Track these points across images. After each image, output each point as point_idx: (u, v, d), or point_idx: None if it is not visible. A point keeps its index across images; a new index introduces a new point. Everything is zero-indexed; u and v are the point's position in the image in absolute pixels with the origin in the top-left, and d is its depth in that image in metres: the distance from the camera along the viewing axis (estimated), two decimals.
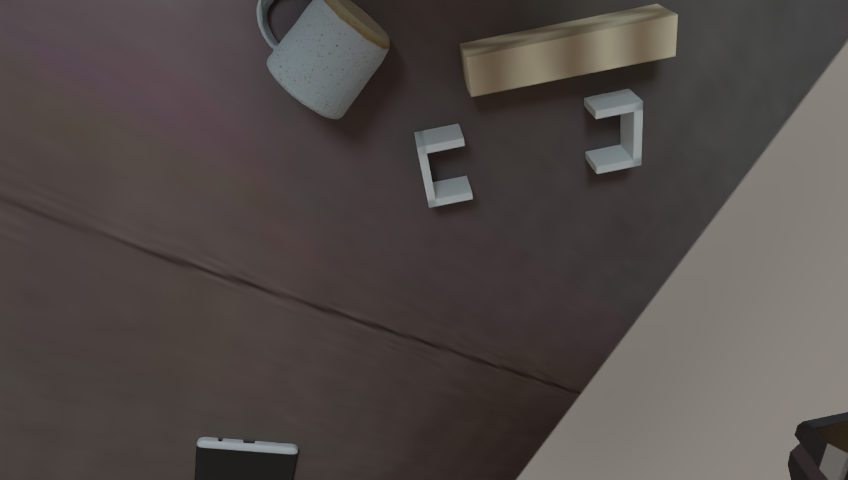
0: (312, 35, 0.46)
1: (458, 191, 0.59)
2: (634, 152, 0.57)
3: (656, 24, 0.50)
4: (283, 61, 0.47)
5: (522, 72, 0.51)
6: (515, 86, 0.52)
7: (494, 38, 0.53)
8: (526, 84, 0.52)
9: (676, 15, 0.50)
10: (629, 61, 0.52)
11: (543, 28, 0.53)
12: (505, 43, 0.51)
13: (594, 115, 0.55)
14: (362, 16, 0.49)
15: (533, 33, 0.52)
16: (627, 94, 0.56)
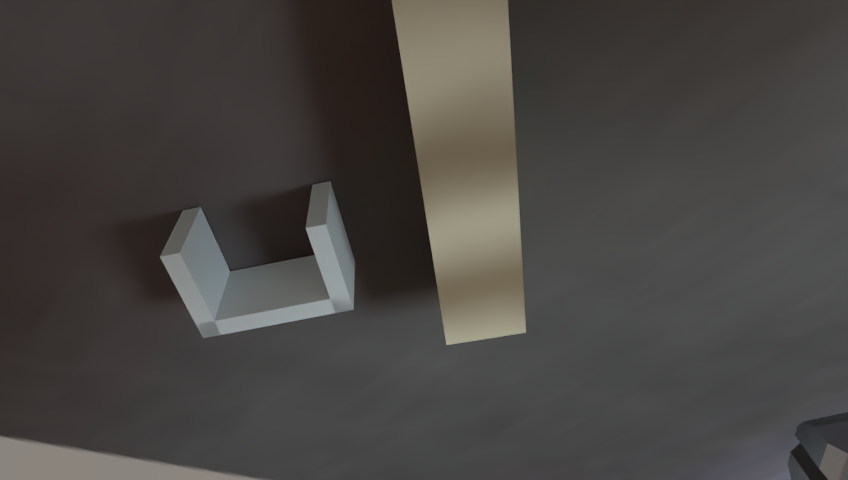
0: None
1: None
2: (232, 319, 0.25)
3: (514, 303, 0.25)
4: None
5: (435, 30, 0.19)
6: (398, 11, 0.18)
7: None
8: (402, 43, 0.19)
9: (524, 330, 0.26)
10: (443, 270, 0.24)
11: None
12: None
13: (312, 222, 0.23)
14: None
15: None
16: (351, 266, 0.27)
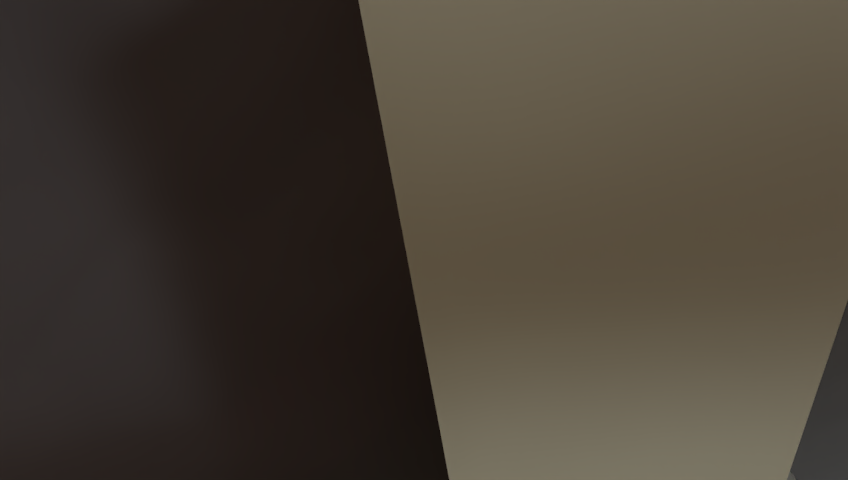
0: None
1: None
2: None
3: None
4: None
5: (572, 460, 0.06)
6: (457, 429, 0.05)
7: None
8: None
9: None
10: None
11: None
12: None
13: None
14: None
15: None
16: None
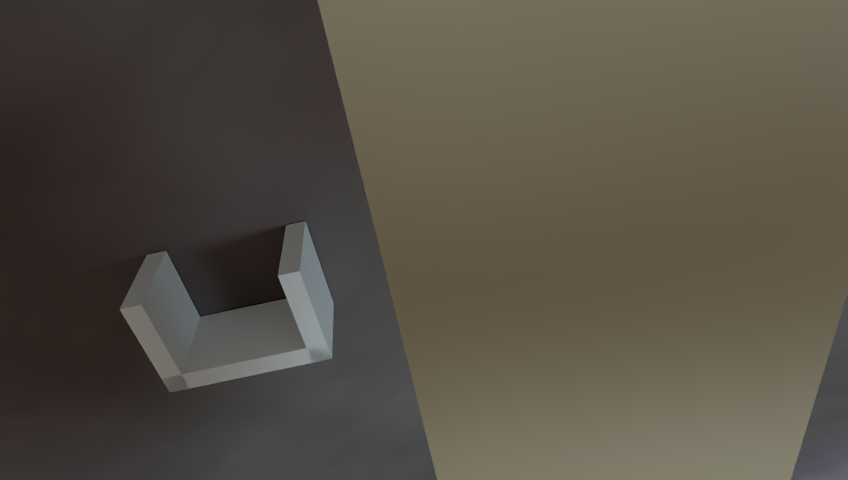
0: None
1: None
2: (201, 372, 0.23)
3: None
4: None
5: (567, 475, 0.06)
6: (447, 447, 0.05)
7: None
8: None
9: None
10: None
11: None
12: None
13: (284, 268, 0.22)
14: None
15: None
16: (329, 310, 0.25)
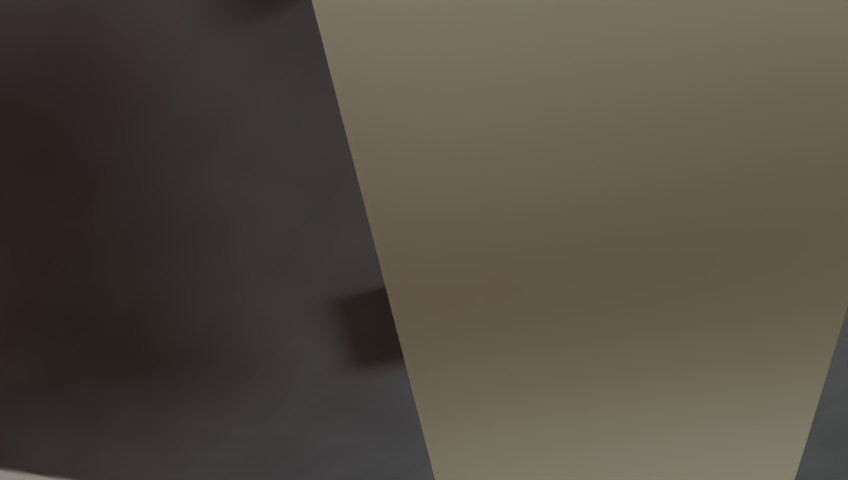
0: None
1: None
2: None
3: None
4: None
5: None
6: (446, 456, 0.05)
7: None
8: None
9: None
10: None
11: None
12: None
13: None
14: None
15: None
16: None
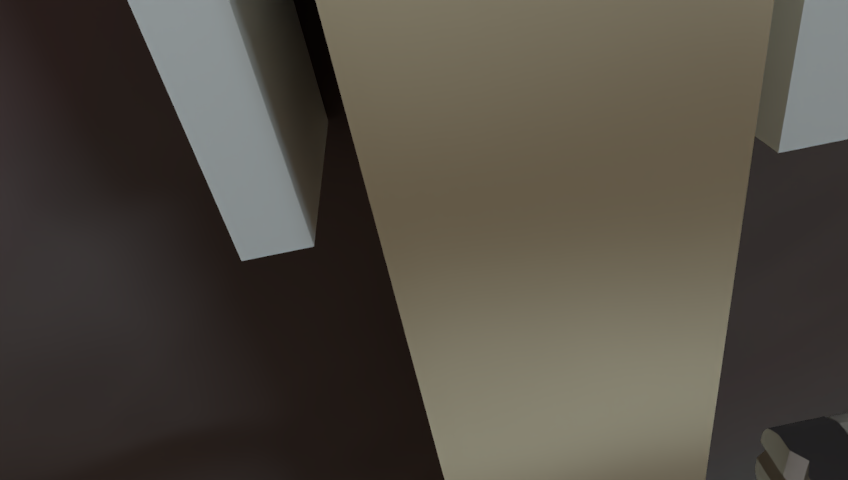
0: None
1: (284, 122, 0.06)
2: None
3: None
4: None
5: (527, 379, 0.07)
6: (424, 351, 0.06)
7: None
8: (437, 410, 0.07)
9: None
10: None
11: None
12: None
13: None
14: None
15: None
16: None
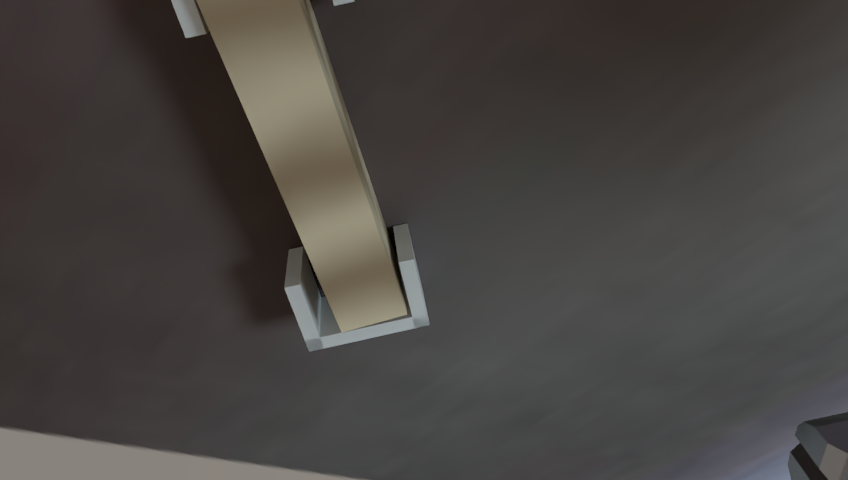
0: None
1: None
2: (334, 335, 0.32)
3: (389, 290, 0.30)
4: None
5: (263, 78, 0.23)
6: (230, 68, 0.23)
7: (309, 3, 0.26)
8: (239, 91, 0.23)
9: (405, 312, 0.30)
10: (321, 269, 0.28)
11: (342, 101, 0.28)
12: (313, 28, 0.24)
13: (402, 257, 0.30)
14: None
15: (334, 83, 0.27)
16: (422, 290, 0.34)
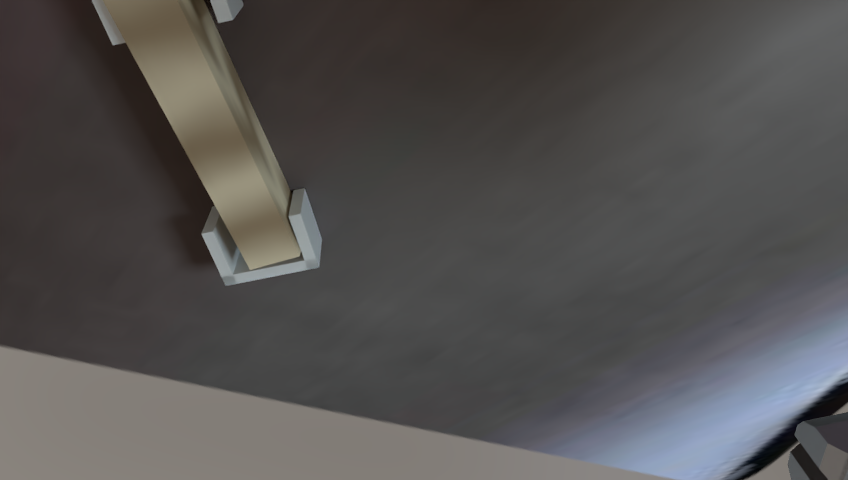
0: None
1: None
2: (244, 273, 0.41)
3: (283, 236, 0.39)
4: None
5: (168, 75, 0.32)
6: (142, 68, 0.32)
7: (209, 18, 0.34)
8: (151, 85, 0.32)
9: (298, 254, 0.39)
10: (227, 219, 0.37)
11: (242, 91, 0.37)
12: (206, 38, 0.33)
13: (292, 212, 0.39)
14: None
15: (231, 78, 0.36)
16: (318, 242, 0.43)
